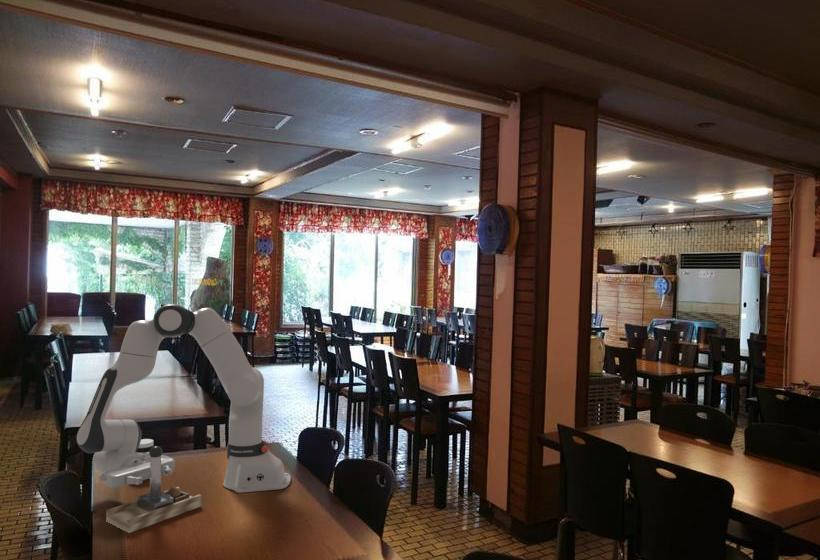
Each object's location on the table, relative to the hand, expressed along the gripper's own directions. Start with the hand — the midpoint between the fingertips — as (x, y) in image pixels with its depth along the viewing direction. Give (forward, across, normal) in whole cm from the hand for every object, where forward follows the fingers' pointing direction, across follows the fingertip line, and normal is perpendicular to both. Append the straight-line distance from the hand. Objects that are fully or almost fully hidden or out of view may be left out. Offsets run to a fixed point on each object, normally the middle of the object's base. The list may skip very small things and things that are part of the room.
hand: (155, 477), depth 173 cm
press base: (0, 0, +11) cm, 11 cm away
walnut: (0, +6, +7) cm, 9 cm away
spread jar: (-33, +17, +11) cm, 39 cm away
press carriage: (0, 0, +9) cm, 9 cm away
